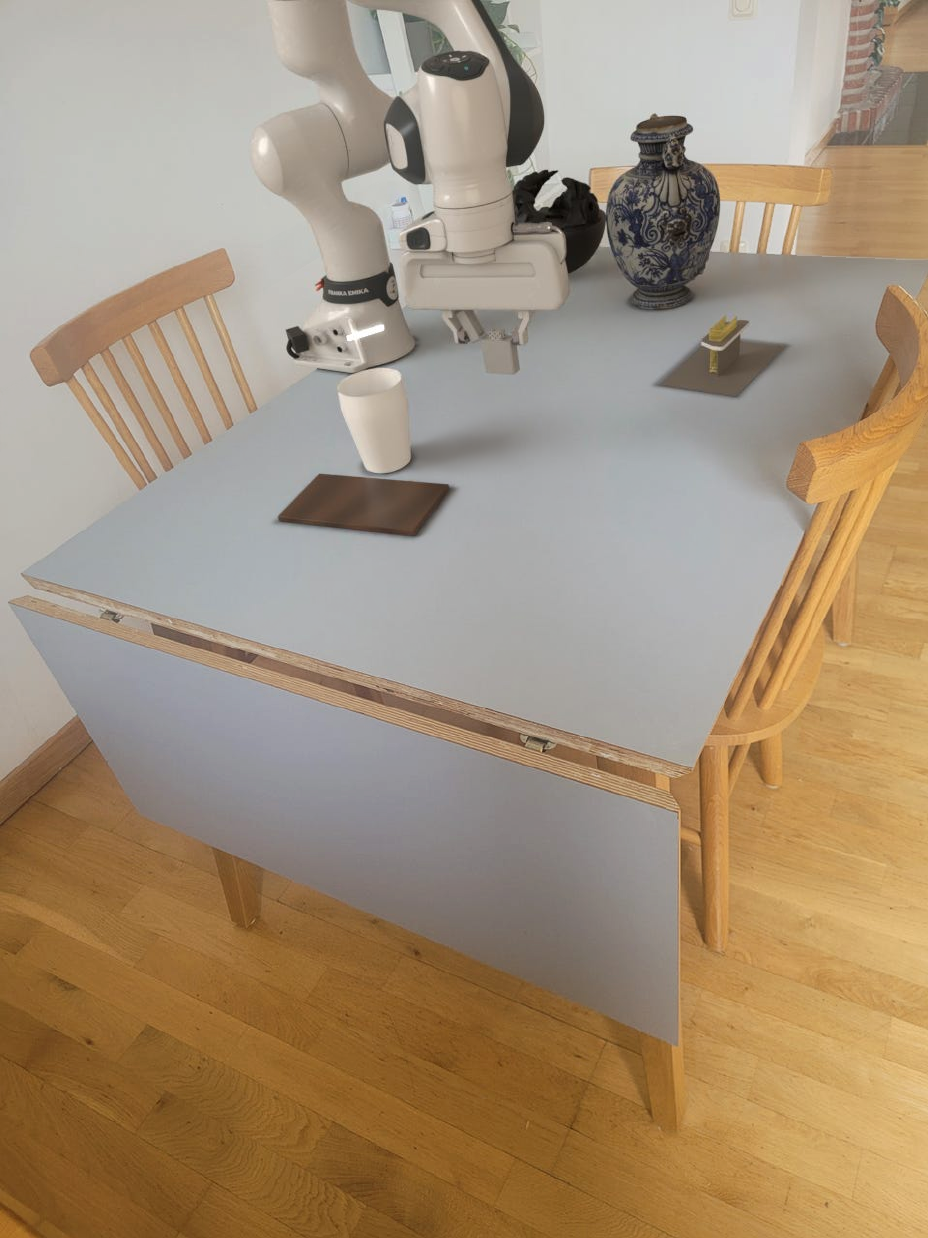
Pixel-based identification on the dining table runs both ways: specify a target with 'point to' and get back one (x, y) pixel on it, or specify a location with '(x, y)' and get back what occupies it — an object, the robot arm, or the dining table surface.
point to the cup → (377, 417)
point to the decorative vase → (662, 215)
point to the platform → (723, 361)
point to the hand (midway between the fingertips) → (491, 342)
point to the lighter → (491, 344)
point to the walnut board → (365, 504)
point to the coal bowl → (563, 215)
